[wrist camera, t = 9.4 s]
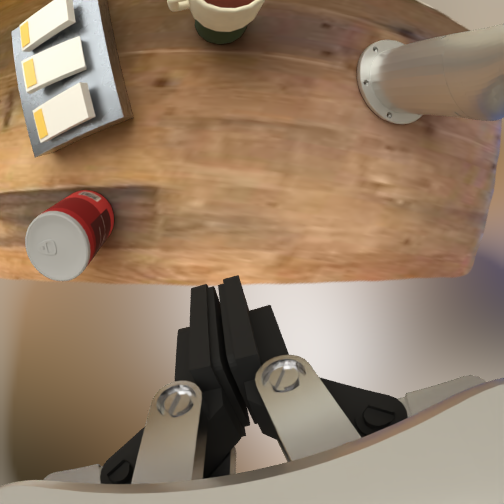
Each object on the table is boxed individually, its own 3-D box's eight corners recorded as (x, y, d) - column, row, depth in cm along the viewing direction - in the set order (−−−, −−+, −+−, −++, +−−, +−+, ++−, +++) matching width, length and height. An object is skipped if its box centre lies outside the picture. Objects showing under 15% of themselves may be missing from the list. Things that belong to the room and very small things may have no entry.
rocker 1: (72, -4, 19) (64, -8, 18) (75, 22, 21) (67, 19, 20) (27, 26, 20) (18, 25, 19) (29, 52, 22) (21, 51, 20)
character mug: (259, -4, 28) (284, -51, 16) (269, 42, 31) (300, 8, 19) (172, 8, 27) (159, -39, 16) (180, 56, 30) (169, 24, 19)
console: (106, -1, 25) (93, -17, 20) (133, 117, 33) (121, 116, 27) (27, 40, 24) (6, 32, 19) (50, 153, 32) (29, 159, 27)
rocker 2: (81, 40, 23) (79, 35, 22) (86, 69, 25) (85, 65, 24) (25, 64, 21) (20, 60, 20) (30, 94, 23) (26, 91, 22)
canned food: (55, 201, 35) (14, 228, 25) (103, 179, 35) (69, 200, 25) (76, 251, 38) (45, 290, 28) (124, 232, 38) (100, 270, 28)
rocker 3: (87, 82, 24) (79, 82, 23) (95, 116, 26) (87, 117, 25) (40, 109, 25) (31, 110, 24) (48, 140, 27) (39, 143, 25)
